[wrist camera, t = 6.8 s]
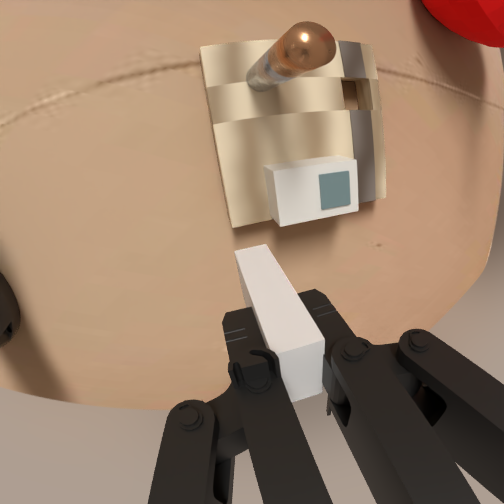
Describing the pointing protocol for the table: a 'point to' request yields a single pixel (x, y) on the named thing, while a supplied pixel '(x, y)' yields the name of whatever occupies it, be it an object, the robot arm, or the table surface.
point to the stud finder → (311, 189)
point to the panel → (291, 122)
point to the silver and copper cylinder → (292, 56)
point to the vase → (471, 19)
